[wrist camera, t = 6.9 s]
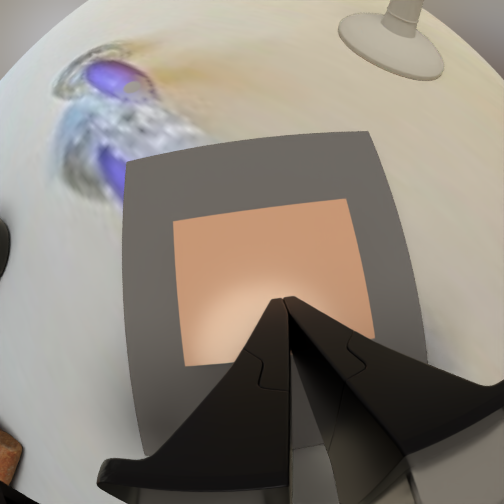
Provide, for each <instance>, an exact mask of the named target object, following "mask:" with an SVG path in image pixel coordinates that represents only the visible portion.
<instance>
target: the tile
mask: <svg viewBox="0 0 504 504" xmlns="http://www.w3.org/2000/svg"><path fill="white" fill-rule="evenodd" d="M173 231H174V252H175V268H176V282H177V295H178V307H179V317H180V327H181V336H182V345H183V354H184V362H185V366H198V365H210V364H221V363H231V362H234V361H235V360H236V358H237V357H238V355H239V353H240V352H241V350H242V349H243V347H244V345H245V344H246V342H247V340H248V339H249V337H250V335H251V333H252V332H253V330H254V328H255V326H256V325H257V323H258V321H259V319H260V318H261V316H262V314H263V312H264V311H265V309H266V307H267V305H268V304H269V302H270V300H271V299H275V298H282V299H283V298H284V297H288V296H296V297H297V298H299V299H301V300H302V301H304V302H306V303H308V304H309V305H311V306H313V307H314V308H316V309H318V310H319V311H321V312H323V313H325V314H326V315H328V316H330V317H332V318H333V319H335V320H337V321H338V322H340V323H342V324H344V325H345V326H347V327H349V328H351V329H352V330H354V331H357V332H358V333H360V334H362V335H364V336H365V337H367V338H369V339H373V338H375V334H374V327H373V321H372V315H371V309H370V303H369V297H368V292H367V287H366V282H365V277H364V272H363V267H362V262H361V258H360V253H359V249H358V244H357V240H356V236H355V232H354V228H353V224H352V220H351V216H350V212H349V208H348V204H347V201H346V199H337V200H328V201H318V202H309V203H301V204H292V205H284V206H276V207H268V208H260V209H253V210H246V211H238V212H231V213H224V214H217V215H211V216H204V217H197V218H191V219H185V220H178V221H173ZM291 355H292V354H291Z"/></svg>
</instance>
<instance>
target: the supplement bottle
mask: <svg viewBox="0 0 504 504" xmlns="http://www.w3.org/2000/svg"><path fill="white" fill-rule="evenodd" d="M8 252H9V234H8V230H7V227H6V225H5V223H4V222H3V221H2V220H1V219H0V276H1V274H2V272H3V270H4V267H5V265H6V261H7V258H8Z"/></svg>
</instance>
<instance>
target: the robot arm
mask: <svg viewBox="0 0 504 504" xmlns="http://www.w3.org/2000/svg"><path fill="white" fill-rule="evenodd" d="M291 354H292V357H293V360H294V363H295V365H296V368H297V371H298V374H299V376H300V379H301V382H302V384H303V387H304V390H305V393H306V395H307V398H308V401H309V404H310V406H311V409H312V412H313V415H314V417H315V420H316V423H317V425H318V428H319V431H320V434H321V436H322V439H323V442H324V445H325V447H326V450H327V453H328V456H329V458H330V462H331V465H332V469H333V473H334V478H335V483H336V488H337V493H338V499H339V504H504V380H502V381H500V382H499V383H497V384H495V385H492V386H483V385H479V384H476V383H474V382H471V381H469V380H466V379H463V378H461V377H458V376H456V375H453V374H451V373H448V372H446V371H443V370H441V369H438V368H436V367H434V366H431V365H429V364H426V363H424V362H421V361H419V360H417V359H414V358H412V357H409V356H407V355H405V354H402V353H400V352H397V351H395V350H393V349H390V348H388V347H386V346H384V345H381V344H379V343H377V342H375V341H373V340H371V339H369V338H367V337H365V336H364V335H362V334H360V333H358V332H357V331H354V330H352V329H351V328H349V327H347V326H345V325H344V324H342V323H340V322H338V321H337V320H335V319H333V318H332V317H330V316H328V315H326V314H325V313H323V312H321V311H319V310H318V309H316V308H314V307H313V306H311V305H309V304H308V303H306V302H304V301H302V300H301V299H299V298H297V297H296V296H288V297H284V298H283V299H282V298H275V299H271V300H270V302H269V304H268V305H267V307H266V309H265V311H264V312H263V314H262V316H261V318H260V319H259V321H258V323H257V325H256V326H255V328H254V330H253V332H252V333H251V335H250V337H249V339H248V340H247V342H246V344H245V345H244V347H243V349H242V350H241V352H240V353H239V355H238V357H237V358H236V360H235V361H234V363H233V364H232V366H231V367H230V369H229V370H228V371H227V372H226V374H225V375H224V376H223V377H222V379H221V380H220V381H219V382H218V383H217V384H216V386H215V387H214V388H213V389H212V390H211V391H210V392H209V394H208V395H207V396H206V397H205V398H204V399H203V401H202V402H201V403H200V404H199V405H198V406H197V407H196V408H195V410H194V411H193V412H192V413H191V414H190V415H189V416H188V417H187V419H186V420H185V421H184V422H183V423H182V424H181V425H180V426H179V427H178V428H177V430H176V431H175V432H174V433H173V434H172V435H171V436H170V437H169V438H168V439H167V440H166V441H165V442H164V444H163V445H162V446H161V447H160V448H159V449H158V450H157V451H156V452H155V453H154V454H153V455H151V456H149V457H147V458H145V459H141V460H131V459H122V458H110V459H106V460H105V461H104V462H103V463H102V465H101V467H100V471H99V473H98V477H97V486H98V487H99V488H100V489H102V490H103V491H105V492H107V493H109V494H110V495H112V496H114V497H116V498H118V499H120V500H122V501H124V502H125V503H127V504H292V487H293V429H292V375H291ZM0 504H39V503H37V502H35V501H34V500H32V499H30V498H28V497H26V496H25V495H24V494H22V493H20V492H18V491H17V490H15V489H13V488H12V487H10V486H9V485H7V484H5V483H4V482H2V481H1V480H0Z"/></svg>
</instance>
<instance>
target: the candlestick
mask: <svg viewBox="0 0 504 504" xmlns="http://www.w3.org/2000/svg"><path fill="white" fill-rule="evenodd" d="M423 1H424V0H391V1H390V3H389V6H388V7H387V12H386V13H385V15H382V14H376V13H357V14H353V15H349V16H347V17H345V18H343V19H342V20H341V22H340V24H339V28H338V32H339V35H340V37H341V39H342V41H343V42H344V43H345V44H346V45H347V46H348V47H349V48H350V49H351V50H352V51H354V52H355V53H356V54H358V55H359V56H360V57H362V58H364V59H365V60H367V61H369V62H370V63H372V64H374V65H376V66H378V67H380V68H382V69H384V70H386V71H389V72H391V73H394V74H397V75H400V76H403V77H406V78H410V79H415V80H422V81H429V80H434V79H437V78H439V77H440V76H441V74H442V72H443V70H444V62H443V59H442V57H441V55H440V53H439V51H438V50H437V48H436V47H435V45H434V44H433V43H432V42H431V41H430V40H429V39H428V38H427V37H426V36H425V35H424V34H422V33H421V32H420V31H418V30H417V29H416V27H417V23H418V19H419V16H420V12H421V8H422V5H423Z"/></svg>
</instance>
